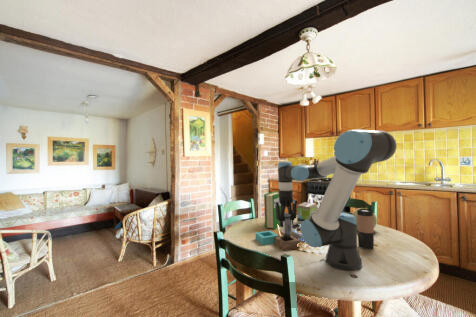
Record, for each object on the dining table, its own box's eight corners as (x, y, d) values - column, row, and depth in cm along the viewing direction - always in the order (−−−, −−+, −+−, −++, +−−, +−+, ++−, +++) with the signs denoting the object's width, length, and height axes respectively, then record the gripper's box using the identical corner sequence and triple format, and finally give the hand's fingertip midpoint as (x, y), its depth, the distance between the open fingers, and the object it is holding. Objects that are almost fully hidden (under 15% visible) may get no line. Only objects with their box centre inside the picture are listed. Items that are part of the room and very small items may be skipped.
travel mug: (376, 250, 117) (375, 211, 117) (360, 249, 118) (359, 211, 118) (370, 244, 124) (369, 208, 124) (356, 243, 126) (355, 208, 126)
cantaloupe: (348, 230, 149) (347, 208, 149) (356, 225, 158) (355, 204, 158) (372, 235, 138) (372, 211, 138) (380, 230, 147) (379, 207, 147)
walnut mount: (300, 249, 120) (299, 240, 120) (283, 252, 116) (283, 243, 116) (290, 243, 129) (289, 234, 129) (274, 245, 126) (274, 236, 126)
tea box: (310, 227, 157) (310, 206, 157) (297, 225, 163) (296, 205, 163) (317, 222, 169) (316, 202, 169) (304, 220, 175) (303, 201, 175)
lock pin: (293, 244, 121) (293, 214, 121) (285, 245, 119) (284, 215, 119) (288, 240, 126) (287, 212, 126) (280, 242, 124) (279, 213, 124)
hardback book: (274, 230, 154) (273, 195, 154) (265, 228, 158) (264, 194, 158) (285, 223, 168) (284, 191, 168) (276, 222, 172) (275, 191, 172)
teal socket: (278, 244, 128) (278, 235, 128) (262, 246, 125) (262, 238, 125) (270, 238, 137) (270, 230, 137) (255, 240, 134) (255, 232, 134)
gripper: (295, 187, 129) (296, 228, 129) (268, 189, 124) (269, 232, 123) (302, 189, 122) (304, 232, 122) (275, 191, 116) (276, 236, 116)
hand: (286, 231), depth 123 cm, fingers closed on lock pin, 4 cm apart
